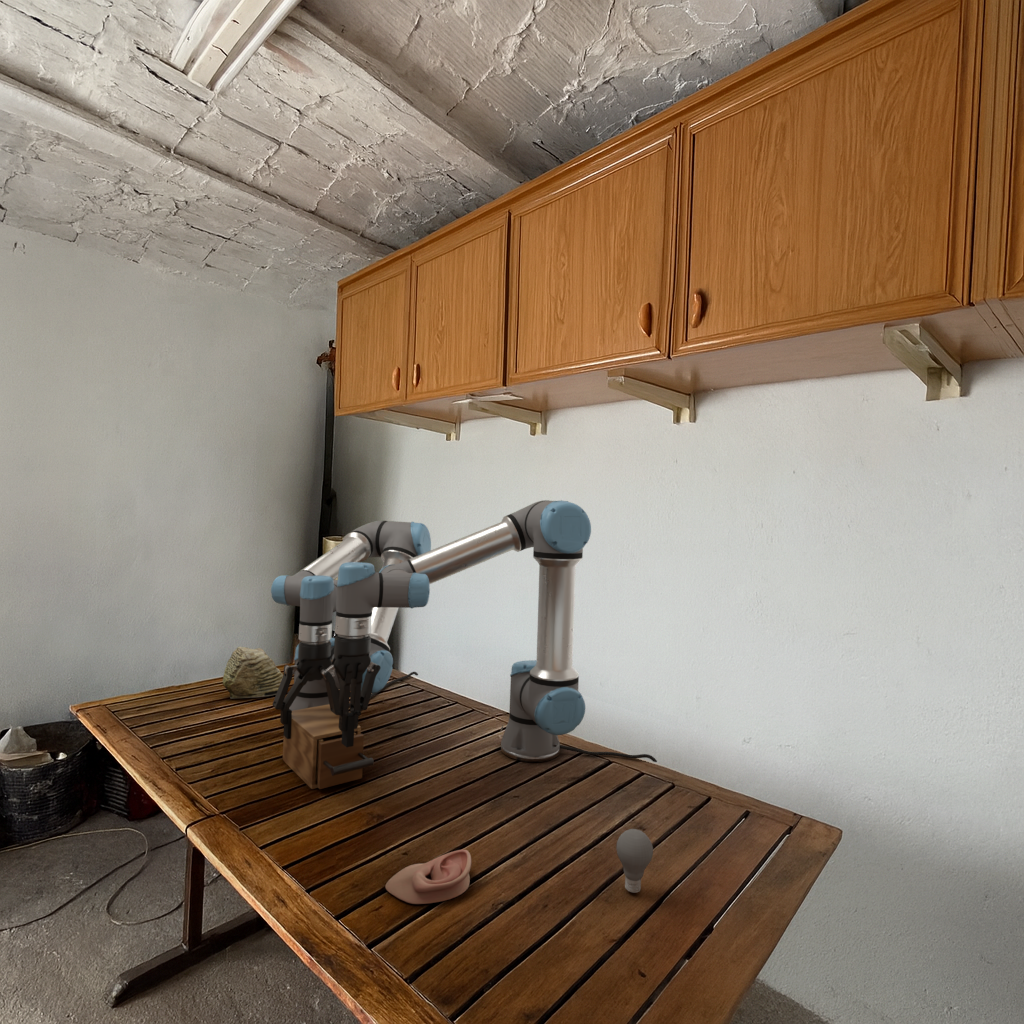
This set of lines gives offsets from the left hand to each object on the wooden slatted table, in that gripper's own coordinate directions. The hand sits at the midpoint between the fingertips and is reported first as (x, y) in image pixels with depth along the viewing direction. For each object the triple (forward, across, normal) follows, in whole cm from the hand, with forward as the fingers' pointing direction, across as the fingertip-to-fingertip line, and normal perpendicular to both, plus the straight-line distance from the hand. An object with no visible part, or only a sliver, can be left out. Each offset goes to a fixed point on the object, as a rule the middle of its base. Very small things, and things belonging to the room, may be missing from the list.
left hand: (311, 732), depth 152 cm
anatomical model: (+7, -3, -58) cm, 59 cm away
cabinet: (+7, 0, -6) cm, 9 cm away
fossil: (+7, +4, +56) cm, 57 cm away
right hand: (-4, 0, -20) cm, 21 cm away
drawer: (+6, 0, -12) cm, 13 cm away
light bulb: (+7, +24, -79) cm, 83 cm away
